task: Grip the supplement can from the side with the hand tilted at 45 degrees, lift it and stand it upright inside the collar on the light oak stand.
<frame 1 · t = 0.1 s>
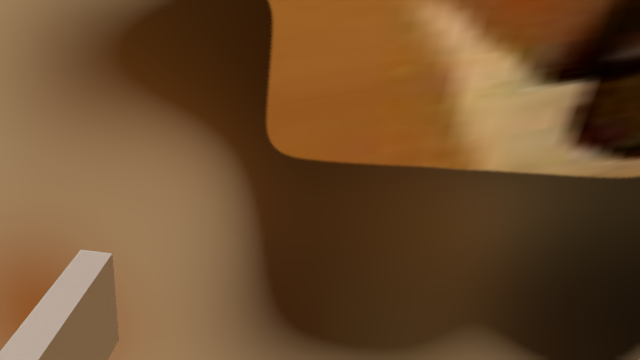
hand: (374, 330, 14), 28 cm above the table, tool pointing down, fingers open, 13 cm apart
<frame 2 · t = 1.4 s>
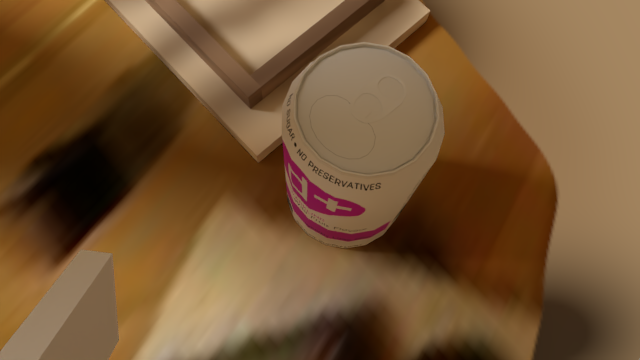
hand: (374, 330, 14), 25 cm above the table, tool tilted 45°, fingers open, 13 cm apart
supplement can: (343, 195, 41), on the table
oak stand: (260, 6, 46), on the table
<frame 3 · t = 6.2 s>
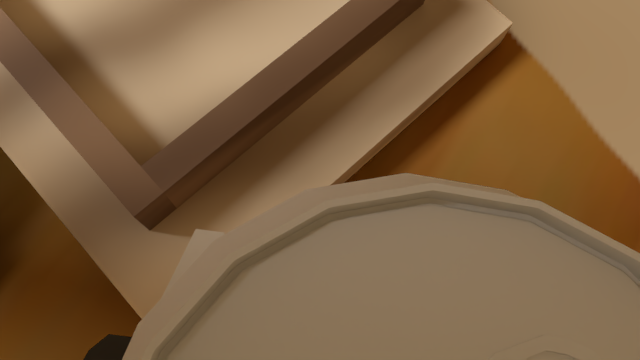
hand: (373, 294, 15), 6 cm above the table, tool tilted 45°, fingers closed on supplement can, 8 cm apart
oak stand: (188, 14, 24), on the table
when the fingers open (9 cm above the table, at t = 10.9 s): supplement can drops 1 cm, resting on oak stand.
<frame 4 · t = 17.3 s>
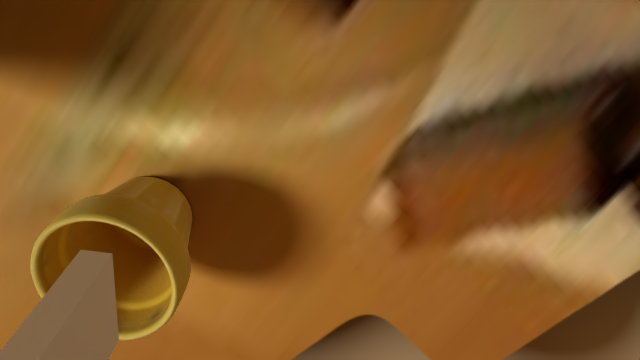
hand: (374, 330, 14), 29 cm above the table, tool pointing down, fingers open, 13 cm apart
plant pot: (152, 209, 47), on the table
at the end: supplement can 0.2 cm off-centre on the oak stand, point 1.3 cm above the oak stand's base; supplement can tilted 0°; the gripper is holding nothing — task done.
